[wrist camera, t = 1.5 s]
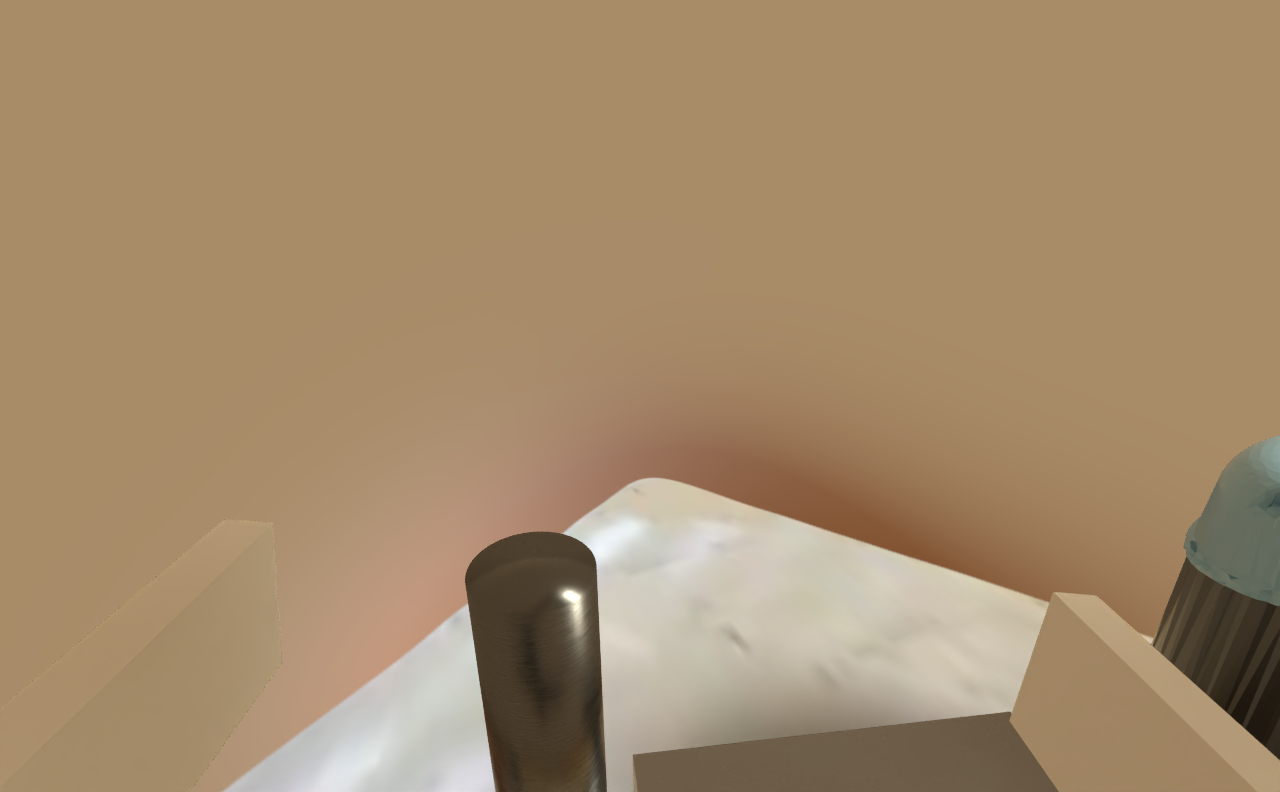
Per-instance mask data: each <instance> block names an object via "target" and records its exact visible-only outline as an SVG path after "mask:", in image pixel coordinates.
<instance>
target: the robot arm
mask: <svg viewBox="0 0 1280 792" xmlns="http://www.w3.org/2000/svg"><path fill="white" fill-rule="evenodd" d="M273 529H274V528H273V523H267V522H256V521H244V520H233V519H224V520H223V521H222V522H221V523H219V524H218V525H217V526H216V527H215V528H214V529H212V530H211V531H210V532H209V533H208V534H206V535H205V536H204V537H203V538H202V539H201V540H199V541H198V542H197V543H196V544H195V545H194V546H192V547H191V548H190V549H189V550H187V551H186V552H185V553H184V554H183V555H181V556H180V557H179V558H178V559H177V560H176V561H174V562H173V563H172V564H171V565H170V566H168V567H167V568H166V569H165V570H164V571H162V572H161V573H160V574H159V575H158V576H156V577H155V578H154V579H153V580H152V581H151V582H149V583H148V584H147V585H146V586H145V587H143V588H142V589H141V590H140V591H139V592H138V593H136V594H135V595H134V596H133V597H132V598H130V599H129V600H128V601H127V602H126V603H124V604H123V605H122V606H121V607H120V608H118V610H116V611H115V612H114V613H112V614H111V615H110V616H109V617H108V618H107V619H105V620H104V621H103V622H102V623H101V624H99V625H98V626H97V627H96V628H95V629H93V631H91V632H90V633H89V634H88V635H86V636H85V637H84V638H83V639H82V640H80V641H79V642H78V643H77V644H76V645H74V646H73V647H72V648H71V649H70V650H69V651H67V652H66V653H65V654H64V655H63V656H61V657H60V658H59V659H58V660H57V661H56V662H54V663H53V664H52V665H51V666H50V667H48V668H47V669H46V670H45V671H44V672H42V673H41V674H40V675H39V676H38V677H36V678H35V679H34V680H33V681H32V682H30V683H29V684H28V685H27V686H26V687H25V688H23V689H22V690H21V691H20V692H19V693H17V694H16V695H15V696H14V697H13V698H11V699H10V700H9V701H8V702H7V703H6V704H4V705H3V706H2V707H1V708H0V792H190V791H191V790H192V788H193V787H194V785H195V784H196V783H197V781H198V780H199V778H200V777H201V776H202V774H203V773H204V771H205V770H206V769H207V767H208V766H209V764H210V763H211V762H212V760H213V759H214V758H215V756H216V755H217V753H218V752H219V751H220V749H221V748H222V746H223V745H224V744H225V742H226V741H227V739H228V738H229V737H230V735H231V734H232V732H233V731H234V730H235V728H236V727H237V726H238V724H239V723H240V721H241V720H242V719H243V717H244V716H245V714H246V713H247V712H248V710H249V708H250V707H251V706H252V705H253V703H254V702H255V700H256V699H257V698H258V696H259V695H260V693H261V692H262V691H263V689H264V688H265V686H266V685H267V684H268V682H269V681H270V680H271V678H272V677H273V675H274V674H275V673H276V671H277V670H278V668H279V667H280V666H281V664H282V652H281V636H280V621H279V607H278V606H279V605H278V590H277V574H276V559H275V545H274V530H273ZM1184 548H1185V550H1186V554H1187V557H1186V559H1185V562H1184V564H1183V567H1182V570H1181V572H1180V574H1179V577H1178V579H1177V582H1176V584H1175V587H1174V589H1173V592H1172V594H1171V597H1170V599H1169V601H1168V604H1167V607H1166V609H1165V611H1164V614H1163V617H1162V619H1161V621H1160V624H1159V626H1158V629H1157V631H1156V634H1155V636H1154V639H1153V641H1152V644H1150V643H1149V642H1147V641H1146V640H1145V639H1144V638H1143V637H1142V636H1141V635H1140V634H1139V633H1137V632H1136V631H1135V630H1134V629H1133V628H1131V626H1130V625H1128V624H1127V623H1126V622H1125V621H1124V620H1123V619H1121V617H1119V616H1118V615H1117V614H1116V613H1115V612H1114V611H1113V610H1112V609H1110V607H1108V606H1107V605H1106V604H1105V603H1104V602H1103V601H1102V600H1100V598H1098V597H1097V596H1094V595H1082V594H1071V593H1060V592H1053V595H1052V597H1051V600H1050V603H1049V606H1048V609H1047V612H1046V615H1045V618H1044V621H1043V624H1042V627H1041V630H1040V633H1039V635H1038V638H1037V641H1036V644H1035V647H1034V650H1033V653H1032V656H1031V659H1030V662H1029V665H1028V668H1027V671H1026V673H1025V676H1024V679H1023V682H1022V685H1021V688H1020V691H1019V694H1018V697H1017V700H1016V703H1015V706H1014V709H1013V711H1012V714H1011V717H1010V720H1009V721H1010V722H1011V724H1012V725H1013V727H1014V728H1015V730H1016V731H1017V732H1018V734H1019V735H1020V737H1021V738H1022V740H1023V741H1024V742H1025V744H1026V745H1027V747H1028V748H1029V750H1030V751H1031V752H1032V754H1033V755H1034V757H1035V758H1036V760H1037V761H1038V763H1039V764H1040V765H1041V767H1042V768H1043V770H1044V771H1045V773H1046V774H1047V775H1048V777H1049V778H1050V780H1051V781H1052V783H1053V784H1054V785H1055V787H1056V788H1057V790H1058V791H1059V792H1280V435H1279V436H1275V437H1272V438H1269V439H1266V440H1264V441H1261V442H1259V443H1257V444H1254V445H1252V446H1250V447H1249V448H1247V449H1245V450H1244V451H1242V452H1241V453H1239V454H1238V455H1237V456H1235V457H1234V458H1233V459H1232V460H1231V461H1230V462H1229V463H1228V464H1227V466H1226V467H1225V469H1224V470H1223V471H1222V473H1221V475H1220V477H1219V479H1218V481H1217V483H1216V486H1215V488H1214V490H1213V492H1212V494H1211V496H1210V498H1209V500H1208V502H1207V504H1206V506H1205V508H1204V511H1203V513H1202V515H1201V516H1200V517H1199V518H1198V519H1197V520H1196V521H1195V522H1194V523H1193V524H1192V525H1191V527H1190V528H1189V529H1188V532H1187V534H1186V538H1185V542H1184Z"/></svg>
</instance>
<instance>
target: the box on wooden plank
mask: <svg viewBox="0 0 1280 792" xmlns="http://www.w3.org/2000/svg"><path fill="white" fill-rule="evenodd" d="M1011 714H1012V713H1011V712H1003V713H995V714H986V715H977V716H968V717H960V718H951V719H942V720H933V721H925V722H916V723H907V724H898V725H890V726H881V727H872V728H863V729H855V730H846V731H837V732H828V733H820V734H811V735H802V736H793V737H785V738H776V739H767V740H758V741H750V742H741V743H732V744H723V745H715V746H706V747H697V748H688V749H680V750H671V751H662V752H653V753H644V754H636V755H633V776H634V792H1059V791H1058V790H1057V788H1056V787H1055V785H1054V784H1053V783H1052V781H1051V780H1050V778H1049V777H1048V775H1047V774H1046V773H1045V771H1044V770H1043V768H1042V767H1041V765H1040V764H1039V763H1038V761H1037V760H1036V758H1035V757H1034V755H1033V754H1032V752H1031V751H1030V750H1029V748H1028V747H1027V745H1026V744H1025V742H1024V741H1023V740H1022V738H1021V737H1020V735H1019V734H1018V732H1017V731H1016V730H1015V728H1014V727H1013V725H1012V724H1011V722H1010V721H1009V720H1010V717H1011Z"/></svg>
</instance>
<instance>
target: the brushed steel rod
mask: <svg viewBox="0 0 1280 792" xmlns="http://www.w3.org/2000/svg"><path fill="white" fill-rule="evenodd" d="M465 583H466V591H467V598H468V605H469V612H470V618H471V625H472V632H473V639H474V646H475V653H476V660H477V667H478V674H479V681H480V687H481V694H482V701H483V708H484V715H485V722H486V729H487V736H488V743H489V749H490V756H491V763H492V770H493V777H494V784H495V791H496V792H607V785H606V763H605V742H604V720H603V699H602V677H601V655H600V634H599V612H598V591H597V569H596V561H595V558H594V555H593V553H592V552H591V550H590V549H589V548H588V547H587V546H586V545H585V544H583V543H582V542H580V541H579V540H577V539H575V538H573V537H570V536H567V535H564V534H559V533H552V532H529V533H522V534H517V535H513V536H510V537H507V538H504V539H502V540H499V541H497V542H495V543H493V544H491V545H490V546H488V547H487V548H485V549H484V550H482V551H481V552H480V553H479V554H478V555H477V556H476V557H475V558H474V559H473V560H472V562H471V563H470V565H469V567H468V569H467V572H466V576H465Z"/></svg>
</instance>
